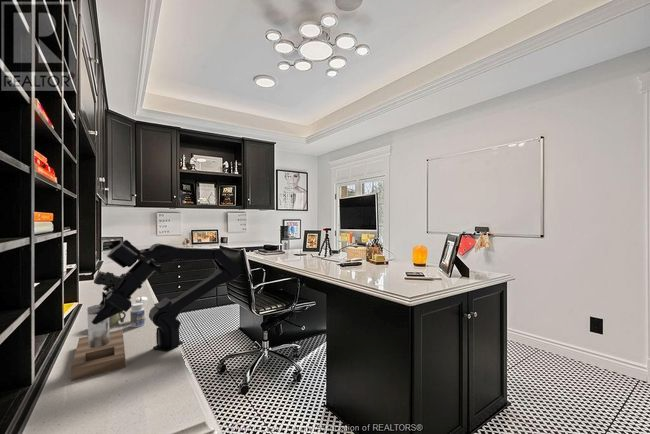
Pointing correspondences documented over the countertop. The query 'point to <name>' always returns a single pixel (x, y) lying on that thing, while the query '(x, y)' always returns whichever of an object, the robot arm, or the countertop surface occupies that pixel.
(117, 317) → the vessel
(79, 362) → the plate
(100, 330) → the silver cylindrical piece
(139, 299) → the white supplement bottle
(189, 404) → the countertop surface
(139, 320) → the pill bottle
